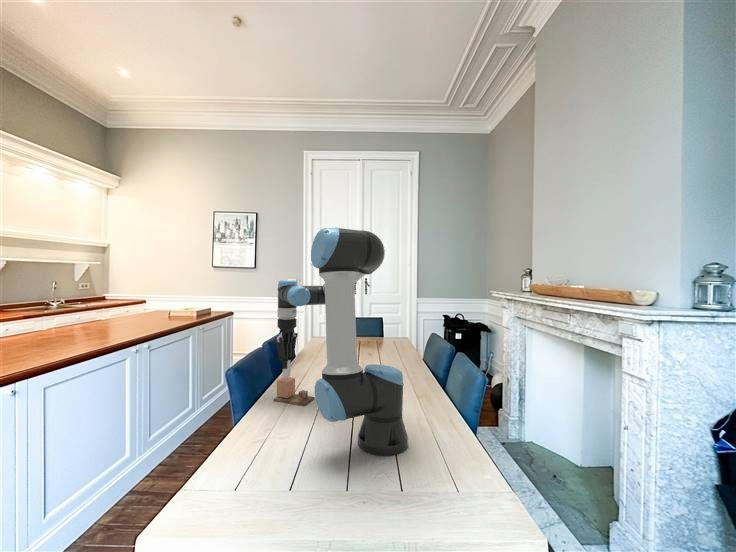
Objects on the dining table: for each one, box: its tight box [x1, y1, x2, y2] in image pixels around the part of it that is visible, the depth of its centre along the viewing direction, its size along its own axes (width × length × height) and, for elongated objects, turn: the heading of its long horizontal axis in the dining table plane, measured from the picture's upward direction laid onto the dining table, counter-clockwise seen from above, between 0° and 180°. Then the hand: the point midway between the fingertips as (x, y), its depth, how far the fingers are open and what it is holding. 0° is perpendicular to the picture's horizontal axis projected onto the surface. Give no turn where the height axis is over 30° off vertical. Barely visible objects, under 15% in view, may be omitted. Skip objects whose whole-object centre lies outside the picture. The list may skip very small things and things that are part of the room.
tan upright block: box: [276, 376, 296, 398], centre depth 140 cm, size 5×5×7 cm
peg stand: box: [273, 389, 316, 407], centre depth 139 cm, size 14×8×8 cm, turn 69°
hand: (286, 376), depth 140 cm, fingers closed
